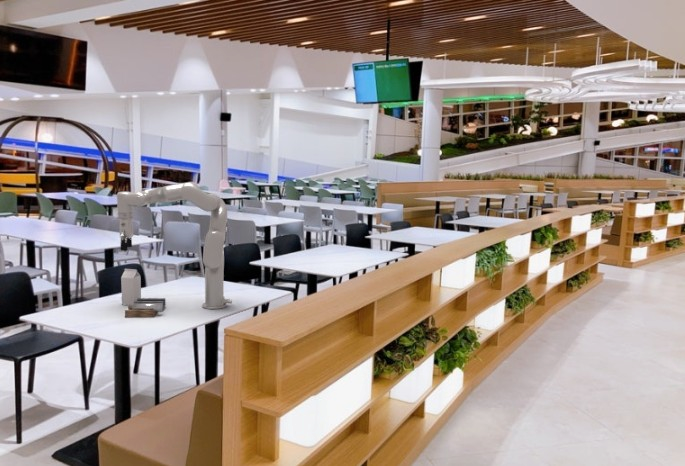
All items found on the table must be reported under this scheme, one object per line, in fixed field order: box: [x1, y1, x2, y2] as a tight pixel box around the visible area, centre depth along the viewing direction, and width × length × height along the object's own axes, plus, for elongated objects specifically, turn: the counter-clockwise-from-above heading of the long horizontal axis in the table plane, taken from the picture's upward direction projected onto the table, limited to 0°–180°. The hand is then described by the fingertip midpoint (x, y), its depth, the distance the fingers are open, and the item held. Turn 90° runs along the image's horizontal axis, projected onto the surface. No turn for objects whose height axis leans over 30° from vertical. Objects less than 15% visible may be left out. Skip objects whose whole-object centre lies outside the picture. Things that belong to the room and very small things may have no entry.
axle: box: [132, 303, 164, 311], centre depth 289 cm, size 14×4×4 cm, turn 96°
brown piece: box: [124, 305, 159, 318], centre depth 289 cm, size 14×8×4 cm, turn 96°
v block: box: [134, 297, 167, 313], centre depth 299 cm, size 14×8×5 cm, turn 96°
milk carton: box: [120, 268, 142, 307], centre depth 308 cm, size 7×7×19 cm
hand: (126, 248), depth 300 cm, fingers open, 9 cm apart
